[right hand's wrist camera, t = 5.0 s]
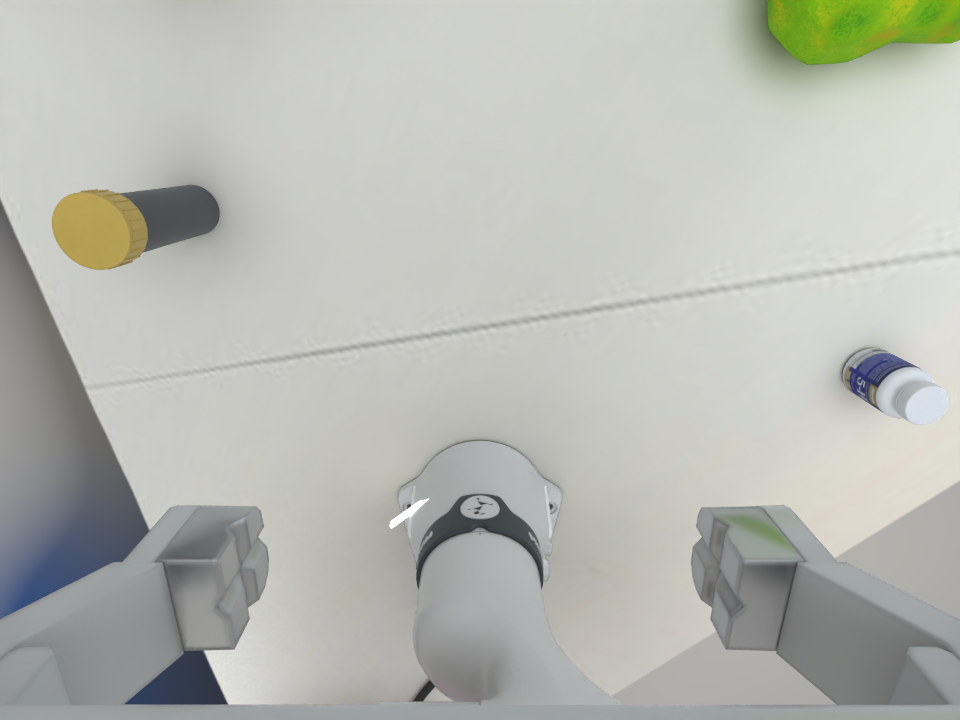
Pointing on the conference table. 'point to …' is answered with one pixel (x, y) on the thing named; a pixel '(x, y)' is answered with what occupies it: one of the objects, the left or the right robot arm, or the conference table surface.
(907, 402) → the pill bottle
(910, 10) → the decorative tree
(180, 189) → the jar
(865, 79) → the conference table surface
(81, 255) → the lid
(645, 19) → the conference table surface
